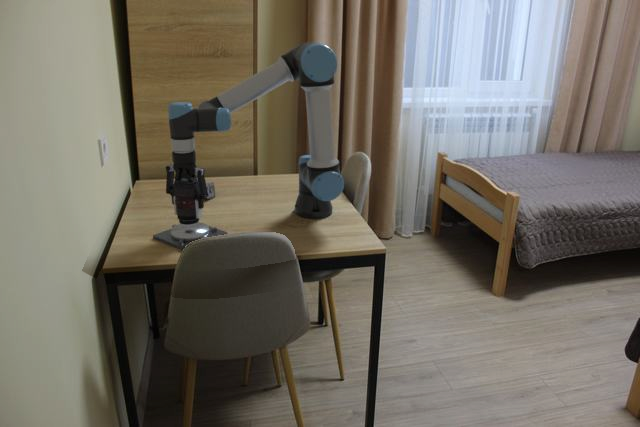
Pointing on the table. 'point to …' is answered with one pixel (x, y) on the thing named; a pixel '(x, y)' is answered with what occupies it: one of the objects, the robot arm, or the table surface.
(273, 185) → the table surface
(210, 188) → the caster wheel
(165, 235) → the mount board
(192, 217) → the camera lens
